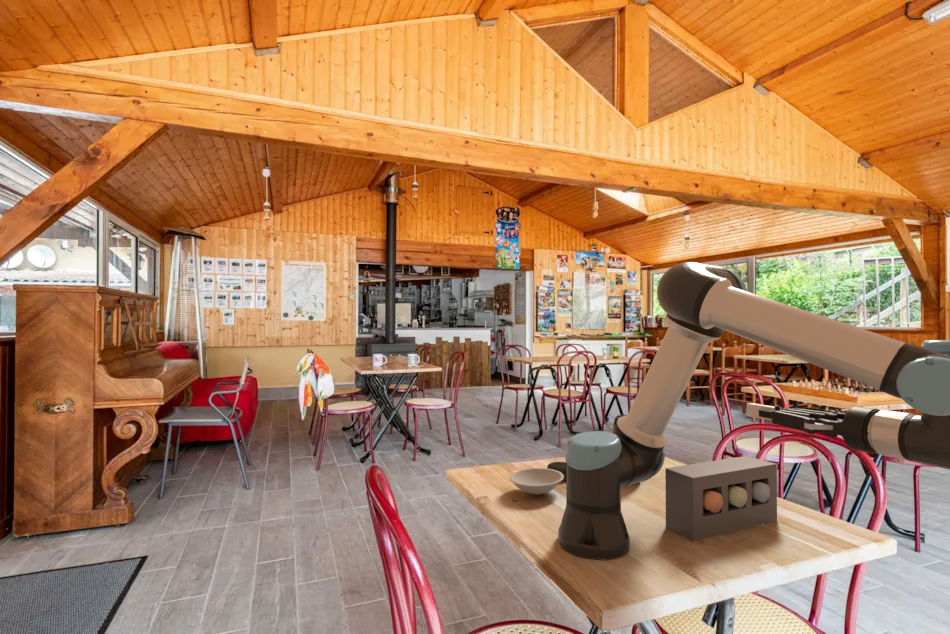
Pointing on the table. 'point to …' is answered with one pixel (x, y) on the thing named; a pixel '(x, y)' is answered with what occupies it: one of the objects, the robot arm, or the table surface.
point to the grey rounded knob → (759, 491)
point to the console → (694, 478)
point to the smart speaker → (558, 467)
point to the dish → (536, 480)
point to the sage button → (736, 496)
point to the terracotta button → (712, 501)
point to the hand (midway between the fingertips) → (749, 409)
